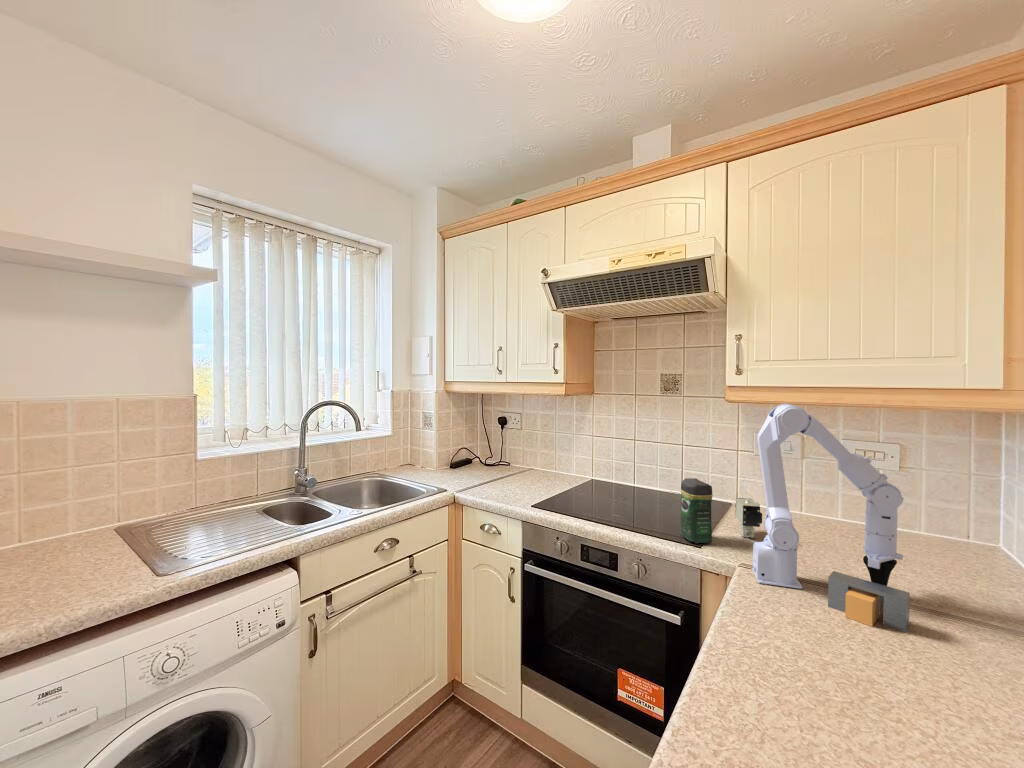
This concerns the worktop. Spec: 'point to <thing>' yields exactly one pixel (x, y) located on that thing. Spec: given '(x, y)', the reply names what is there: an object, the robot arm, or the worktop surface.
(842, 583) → the grey arch bracket
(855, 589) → the plug
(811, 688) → the worktop surface
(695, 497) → the coffee jar
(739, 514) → the pneumatic valve
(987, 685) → the worktop surface
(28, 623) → the worktop surface
